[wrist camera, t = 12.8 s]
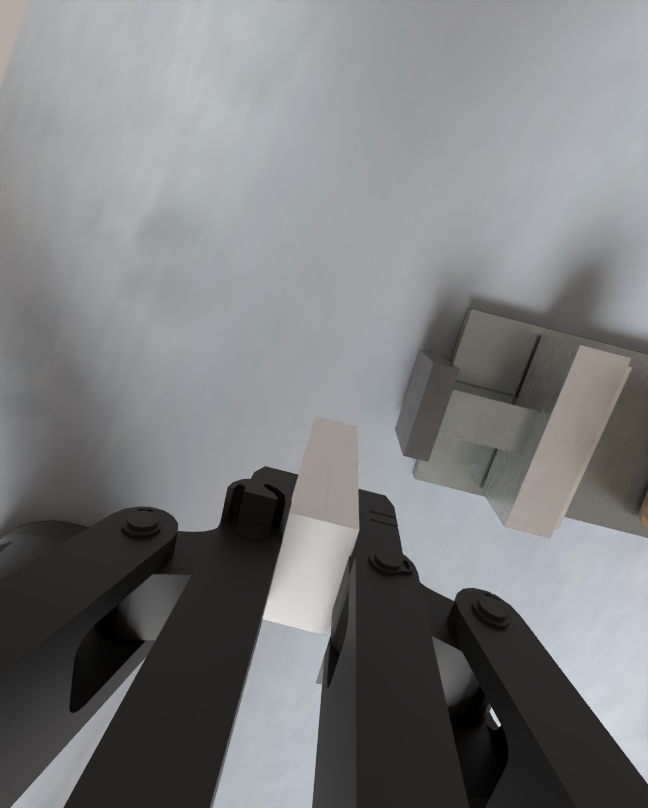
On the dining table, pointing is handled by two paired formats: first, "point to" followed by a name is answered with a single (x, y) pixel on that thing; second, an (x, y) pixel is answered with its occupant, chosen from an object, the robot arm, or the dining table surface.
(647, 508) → the wooden block
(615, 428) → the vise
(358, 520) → the robot arm
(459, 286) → the dining table surface
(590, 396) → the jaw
